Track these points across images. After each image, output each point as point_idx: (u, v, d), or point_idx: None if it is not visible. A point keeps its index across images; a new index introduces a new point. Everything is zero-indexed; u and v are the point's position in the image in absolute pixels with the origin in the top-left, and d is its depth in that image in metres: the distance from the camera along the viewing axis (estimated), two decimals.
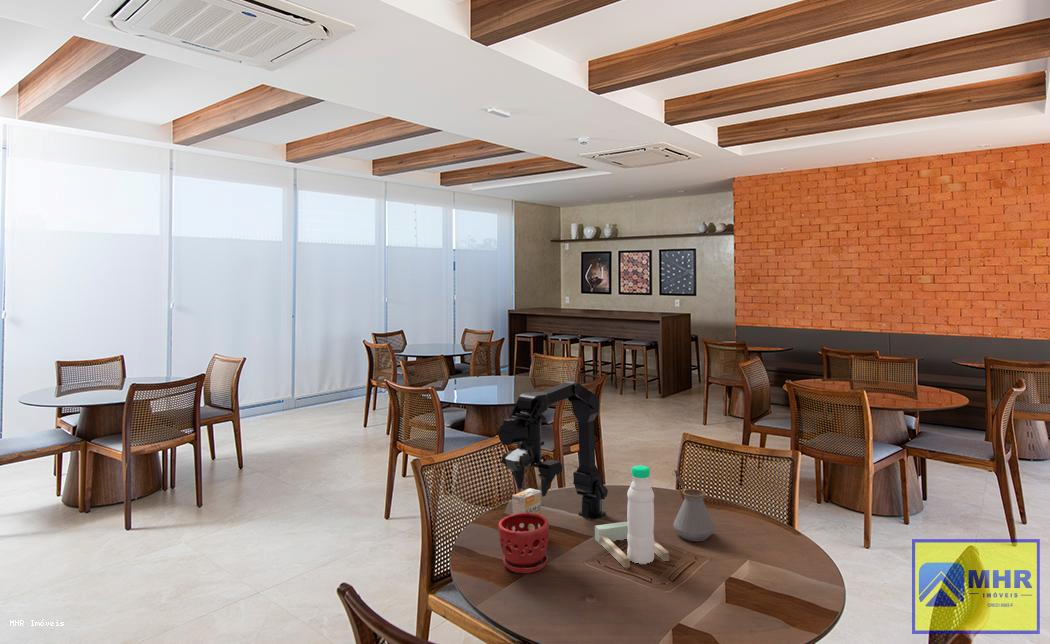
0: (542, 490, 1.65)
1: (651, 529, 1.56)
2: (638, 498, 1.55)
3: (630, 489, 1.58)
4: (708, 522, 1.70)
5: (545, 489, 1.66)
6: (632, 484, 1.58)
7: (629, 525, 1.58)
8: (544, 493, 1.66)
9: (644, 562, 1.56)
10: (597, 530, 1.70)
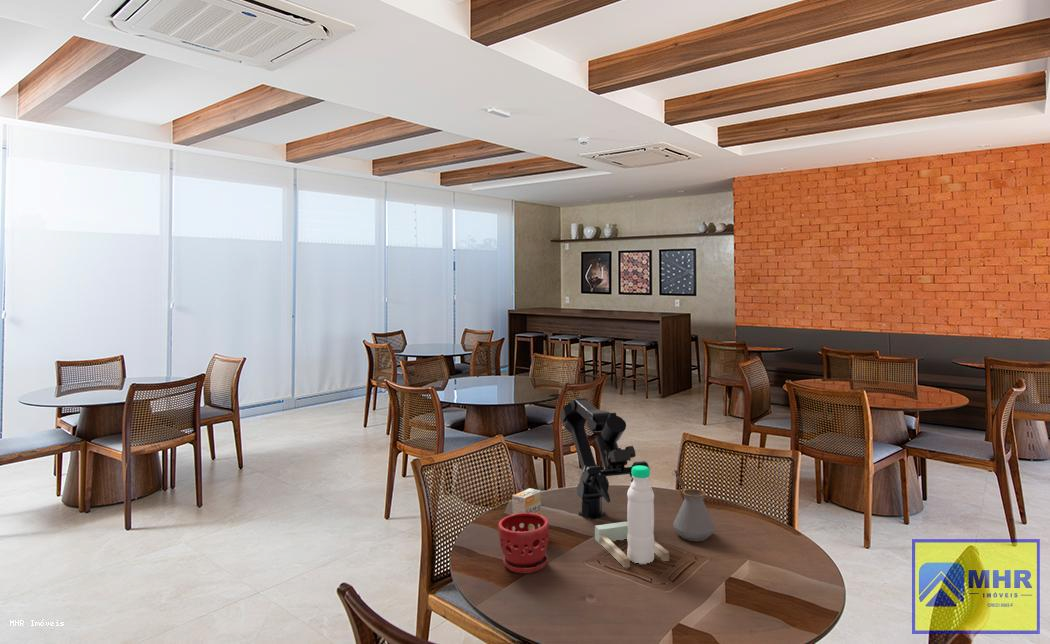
0: None
1: (651, 529, 1.56)
2: (638, 498, 1.55)
3: (630, 489, 1.58)
4: (708, 522, 1.70)
5: None
6: (632, 484, 1.58)
7: (629, 525, 1.58)
8: None
9: (644, 562, 1.56)
10: (597, 530, 1.70)
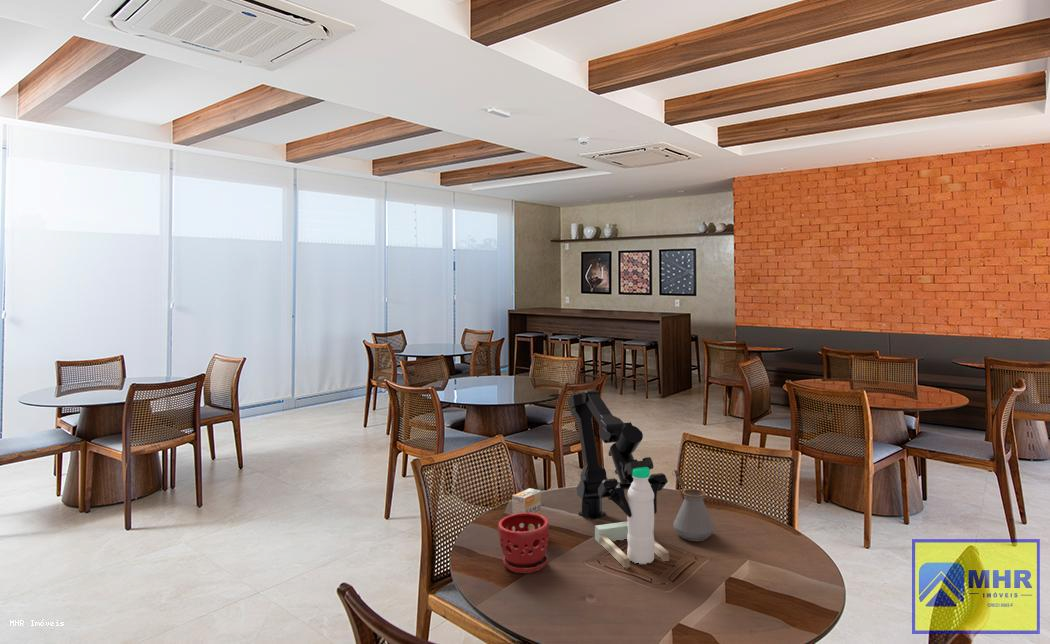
0: (655, 504, 1.59)
1: (651, 529, 1.56)
2: (638, 498, 1.55)
3: (630, 489, 1.58)
4: (708, 522, 1.70)
5: None
6: (632, 484, 1.58)
7: (629, 525, 1.58)
8: None
9: (644, 562, 1.56)
10: (597, 530, 1.70)
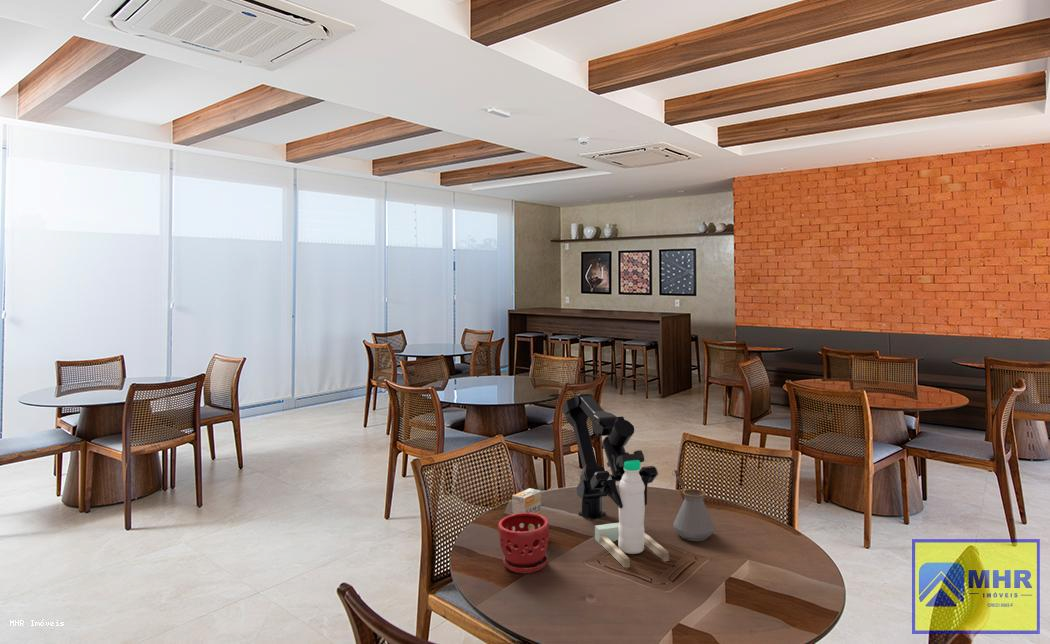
0: (645, 496, 1.64)
1: (641, 520, 1.62)
2: (629, 490, 1.60)
3: (621, 481, 1.63)
4: (708, 522, 1.70)
5: None
6: (623, 476, 1.63)
7: (620, 516, 1.63)
8: None
9: (634, 552, 1.61)
10: (597, 530, 1.70)
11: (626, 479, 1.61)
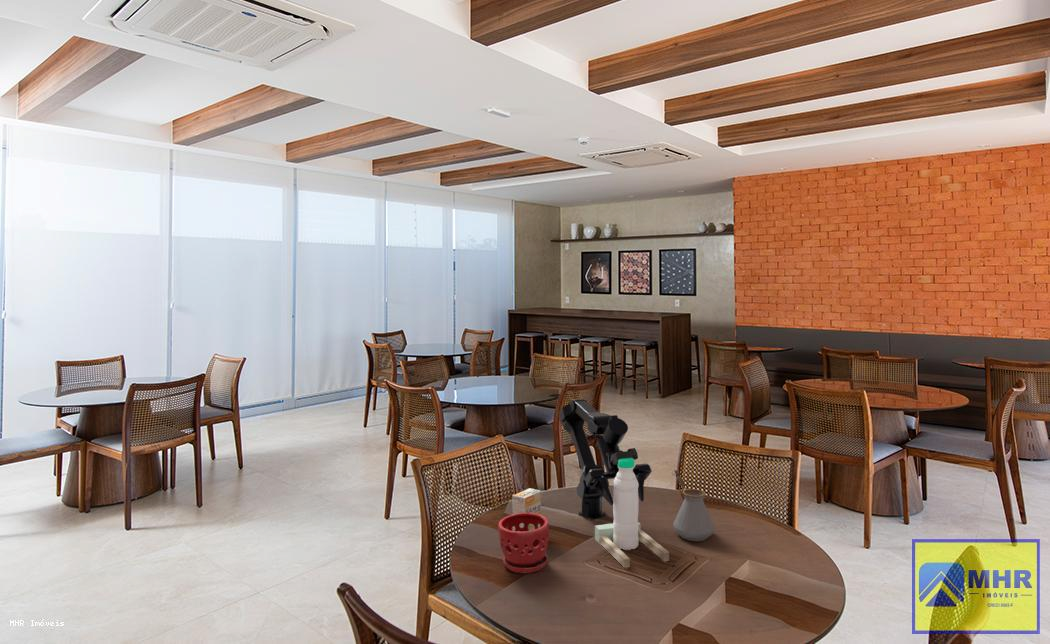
0: (642, 492, 1.68)
1: (635, 517, 1.65)
2: (623, 487, 1.64)
3: (616, 479, 1.66)
4: (708, 522, 1.70)
5: None
6: (617, 474, 1.66)
7: (615, 513, 1.66)
8: None
9: (628, 548, 1.64)
10: (597, 530, 1.70)
11: (620, 477, 1.65)
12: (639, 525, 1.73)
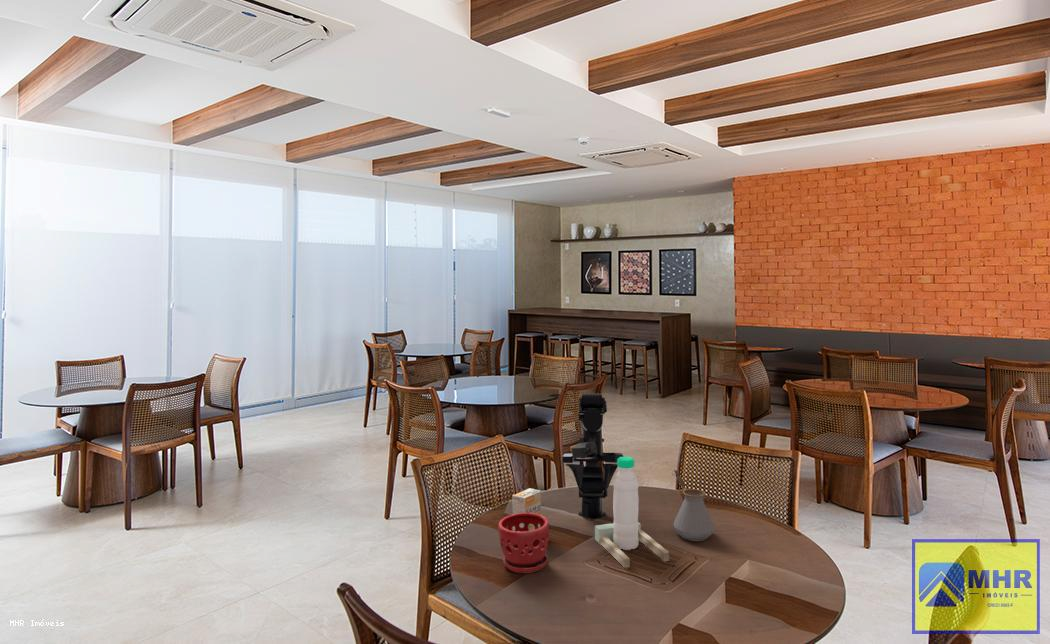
0: (605, 481, 1.73)
1: (635, 517, 1.65)
2: (623, 487, 1.64)
3: (616, 479, 1.66)
4: (708, 522, 1.70)
5: (608, 481, 1.74)
6: (617, 474, 1.66)
7: (615, 513, 1.66)
8: (607, 485, 1.74)
9: (628, 548, 1.64)
10: (597, 530, 1.70)
11: (620, 477, 1.65)
12: (639, 525, 1.73)
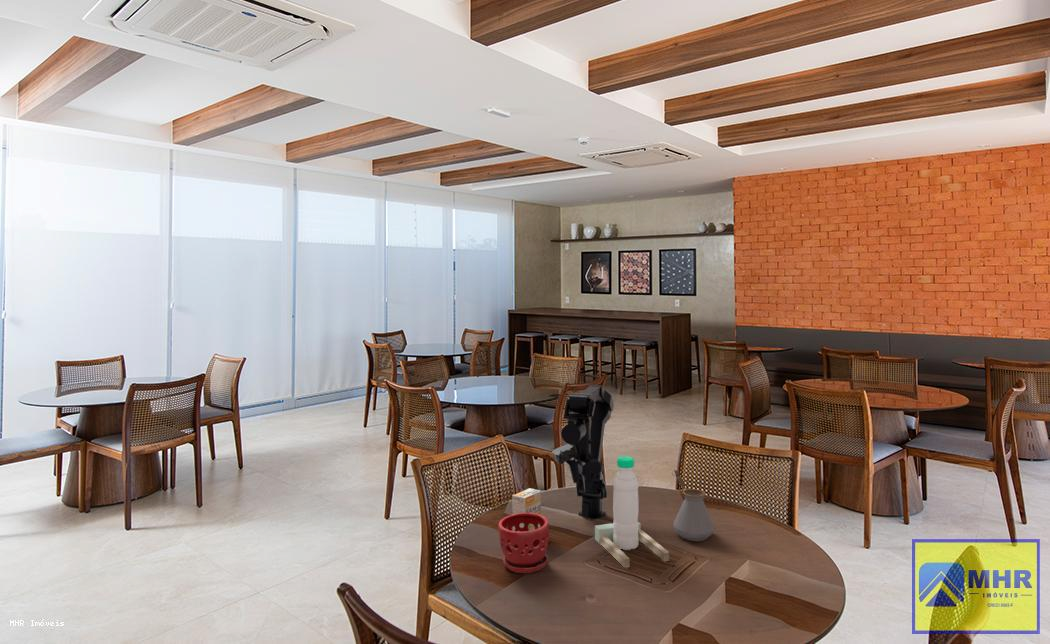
0: (584, 486, 1.73)
1: (635, 517, 1.65)
2: (623, 487, 1.64)
3: (616, 479, 1.66)
4: (708, 522, 1.70)
5: (587, 486, 1.73)
6: (617, 474, 1.66)
7: (614, 513, 1.66)
8: (586, 490, 1.73)
9: (628, 548, 1.64)
10: (597, 530, 1.70)
11: (620, 477, 1.65)
12: (639, 525, 1.73)
